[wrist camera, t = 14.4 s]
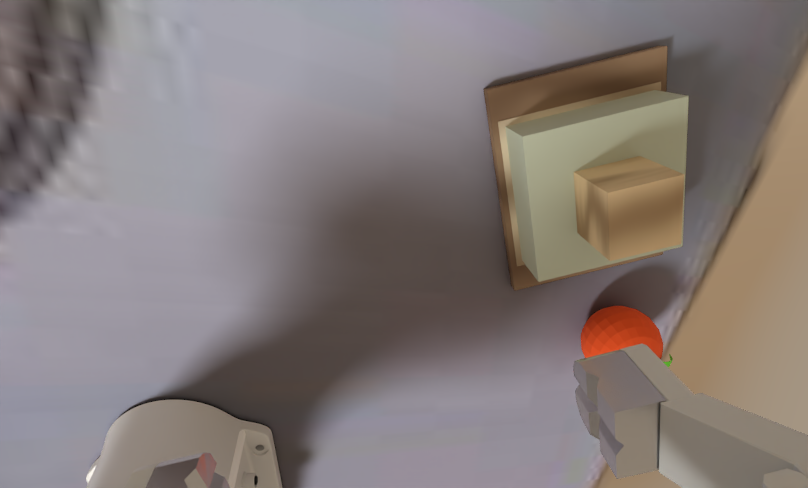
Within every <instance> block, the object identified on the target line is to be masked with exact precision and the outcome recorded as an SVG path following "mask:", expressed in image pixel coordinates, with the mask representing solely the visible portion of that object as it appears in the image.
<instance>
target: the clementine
mask: <svg viewBox="0 0 808 488" xmlns="http://www.w3.org/2000/svg"><path fill="white" fill-rule="evenodd" d="M641 343H642V344H645V345H647V346H648V347H649V348H650V349H651V350H652V351H653V352H654V353H655V354H656V355H657V356H658V357H659V358H660V359H661V357H662V352H663V342H662V338H661V335H660V332H659V329H658V328H657V327H656V325H655V324H654V323H653V321H652V320H651V319H650V318H649V317H648V316H646V315H645V314H643V313H642V312H640V311H638V310H637V309H633V308H629V307H625V306H611V307H607V308H603V309H601V310H599V311H597V312H595V313H594V314H593V315H591V317H590V318H589V319H588V320H587V322H586V324H585V325H584V327H583V329H582V333H581V347H582V351H583V354H584V356H585V358H588V357H592V356H596V355H600V354H604V353H608V352H612V351H615V350H619V349H622V348H626V347H630V346H634V345H638V344H641ZM670 360H671V361H669V362H663V363H664V364H665V365H666V366H667V367H669V366H670V364H671V362H672V357H671V355H670Z"/></svg>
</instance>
